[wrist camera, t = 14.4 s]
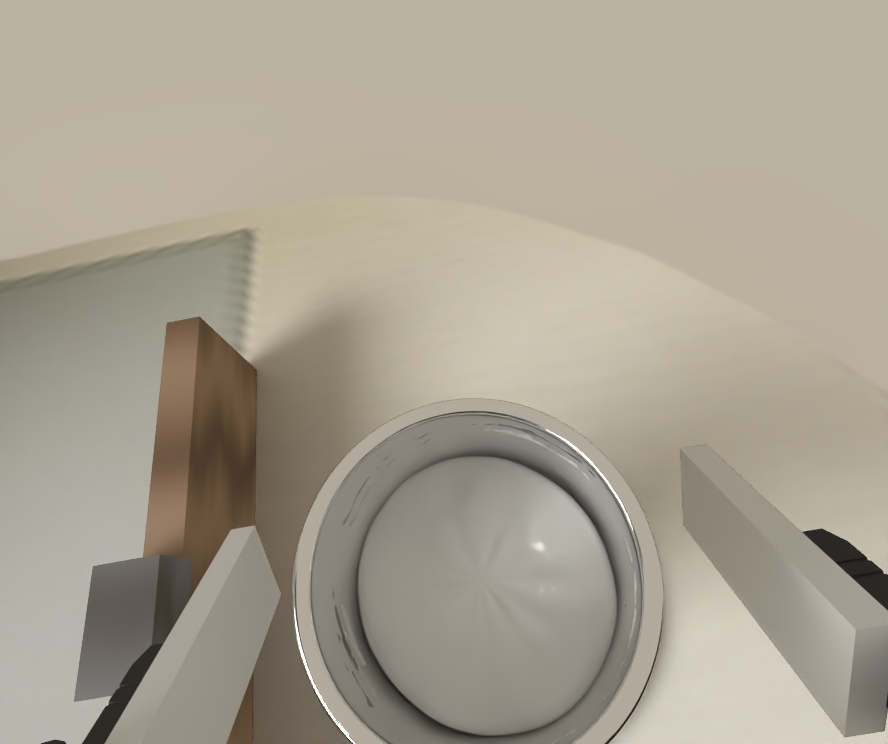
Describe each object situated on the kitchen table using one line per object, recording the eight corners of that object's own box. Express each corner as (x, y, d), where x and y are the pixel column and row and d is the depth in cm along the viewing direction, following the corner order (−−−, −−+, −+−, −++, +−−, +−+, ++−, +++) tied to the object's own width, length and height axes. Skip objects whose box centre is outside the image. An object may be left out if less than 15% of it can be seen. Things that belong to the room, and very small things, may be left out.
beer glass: (499, 725, 20) (477, 957, 7) (385, 592, 23) (206, 571, 9) (608, 591, 22) (765, 565, 8) (489, 481, 25) (464, 326, 11)
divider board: (259, 1012, 18) (95, 1280, 11) (195, 1021, 18) (-10, 1292, 11) (263, 368, 29) (182, 291, 22) (223, 376, 29) (130, 301, 22)
